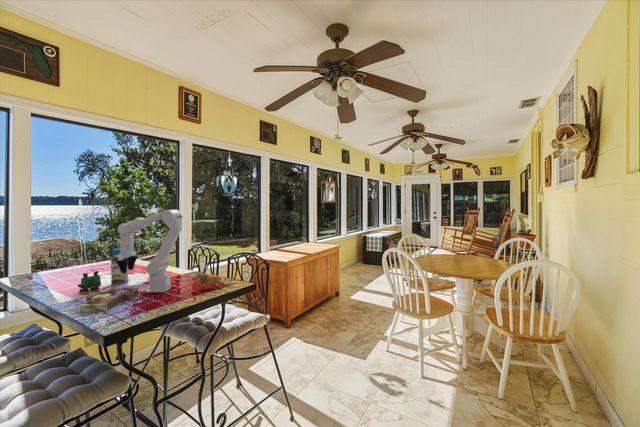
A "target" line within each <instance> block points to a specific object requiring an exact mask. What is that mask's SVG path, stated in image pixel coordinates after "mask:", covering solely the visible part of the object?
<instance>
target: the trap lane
mask: <svg viewBox="0 0 640 427" xmlns="http://www.w3.org/2000/svg"><path fill="white" fill-rule="evenodd" d="M127 291H128V292H127V293H119V294H118V295H116V296H115V297H113V298H111V300H110V301H108V302H106V303H105V304H92V298H93V297H95V296H96V295H98V294H111V297H112V296H114V295H115V294H116V287H112V288H110V289H108V290H106V291H98V292H96V293H94V294H92V295H89V296H88V297H86V298H85V299H86V301H85V302H83V303H81V304H79V312H80V313H87V312H88V313H89V312H91V313H92V312H93V313H94V312H95V313H96V312H106V311H108V310H110V309H112V308H113V307H115V306H116V305H118V304H120V303H121V302H123V301H131V300H132V299H133V298H135V297H137V296H138V295H139V288H135V286H132V287H130V288H128V290H127Z"/></svg>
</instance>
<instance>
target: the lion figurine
mask: <svg viewBox="0 0 640 427" xmlns="http://www.w3.org/2000/svg"><path fill="white" fill-rule="evenodd" d="M195 280H196V282H198V283H199V284H200V285H203V287H204V288H206V289H207V284H213V283H215V286H217V287H218V286H219V287H218V289H219V288H220V289H222V287H225V285H224V284H223V282H222V279H221V278H220V276H217V275H215V276H208V275H207V274H205V273H202V272H198V273H197V274H196V275H195ZM204 288H203V289H204Z"/></svg>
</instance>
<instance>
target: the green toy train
mask: <svg viewBox="0 0 640 427" xmlns="http://www.w3.org/2000/svg"><path fill="white" fill-rule="evenodd" d="M88 275H89V273H84V272H83V273H82V276H83V277H81V279H80V284H78V285H77V288H79V291H78V292H79V293H82V294H83V295H87V294H90V293H91V292H90V291H93V292H96V293H98V292H101V288H100V287H101V286H102V281H101V275H100V274H99V271H98V270H96V271H94V272H93V275H91V276H88Z"/></svg>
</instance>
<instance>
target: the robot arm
mask: <svg viewBox="0 0 640 427" xmlns="http://www.w3.org/2000/svg"><path fill="white" fill-rule="evenodd" d="M182 214H183V213H181V211H180V210H178V209H164V210H161V211H158V212H156V213H153V214H151V215H149V216H147V217H145V218H144V217H138V216H137V217H136V218H135V219H132V220H128V221H127V223H124V222H123V223H121V224H119V225H118V227H117V232H118V234H119V236H120V237H119V238H120V239H119V240H120V248H121V254H118V256H119V257H118V260H116V263H117V264H118V266H119V268H120V271H121V273H126V271H127V265H128V271H129V270H131V271H133V270H134V268H135V264H136V262H137V259H138V257H139V256H138V255H137V251H134V236H135V233H136V232H137V231H140V230H142V229H145V228H147V226H148V225H149V224H151V223H154V222H158V221H162V222H163V223H164V224H165V225H166V226H167V228H168V231H167V233H166V236H165V237H164V240H163V242H162V244H161V246H160V248H159V250H158V252H157V254H156V256H154V257H153V258H152V259H151V262H150V263H148V264H147V265H146V268H145V269H146V272H147V274H148V275H149V289H148V290H146V293H166V292H167V291H169V290H170V289H171V288H172V287H171V274H170V273H166V270H167V269H168V267H169V266H168V263H169V261H170V260H169V256H170V254H171V252H172V249H173V248H174V247H175V243H176V242H177V240H178V237H179V235H180V234H181V231H182V229H183V227H182V226H183V224H182V223H183V215H182Z"/></svg>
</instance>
